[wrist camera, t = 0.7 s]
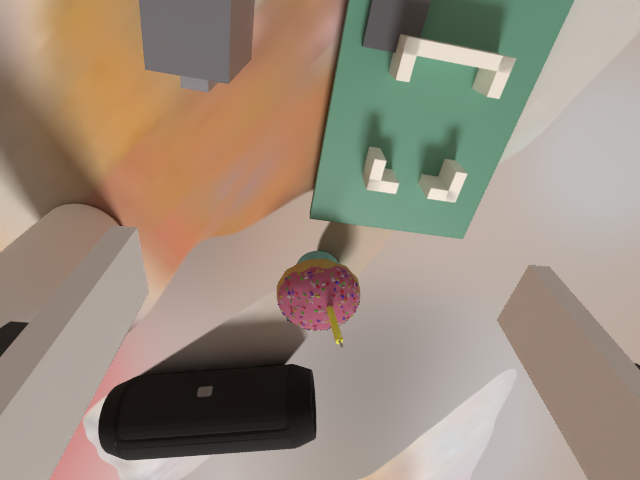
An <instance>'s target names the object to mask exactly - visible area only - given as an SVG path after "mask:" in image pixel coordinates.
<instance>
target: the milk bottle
mask: <svg viewBox="0 0 640 480" xmlns="http://www.w3.org/2000/svg"><path fill="white" fill-rule="evenodd" d="M112 225H115V226H119V224H118V223H117V222H116V221H115V220H114V219H113V218H112V217H111V216H109V215H108V214H107V213H105V212H103V211H101V210H100V209H98V208H95V207H92V206H89V205H85V204H76V203H75V204H66V205H61V206H58V207H56V208H54V209H53V210H52V211H50V212H49V213H48V214H46V215H45V216H44V217H43V218H41V219H40V220H39V221H38V222H36V223H35V224H34V225H33V226H32V227H30V228H29V229H28V230H27V231H26V232H24V233H23V234H22V235H21V236H19V237H18V238H17V239H16V240H15V241H13V242H12V243H11V244H10V245H9V246H7V247H6V248H5V249H4V250H3V251H2V252H0V328H1V327H2V326H4V325H5V324H7V323H8V322H10V321H14V322H28V323H30V321H31V320H32V319H33V318H34V317H35V315H36V314H37V313H38V312H39V311H40V310H41V308H42V307H43V306H44V305H45V304H46V302H47V301H48V300H49V299H50V298H51V297H52V295H53V294H54V293H55V292H56V291H57V289H58V288H59V287H60V286H61V285H62V283H63V282H64V281H65V280H66V279H67V278H68V276H69V275H70V274H71V273H72V272H73V270H74V269H75V268H76V267H77V266H78V265H79V263H80V262H81V261H82V260H83V259H84V257H85V256H86V255H87V254H88V253H89V252H90V250H91V249H92V248H93V247H94V246H95V244H96V243H97V242H98V241H99V240H100V239H101V237H102V236H103V235H104V234H105V233H106V231H107V230H108V229H109V228H110V227H111V226H112Z"/></svg>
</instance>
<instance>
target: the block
mask: <svg viewBox="0 0 640 480" xmlns="http://www.w3.org/2000/svg"><path fill="white" fill-rule="evenodd" d="M254 3H255V0H139V4H140V15H141V27H142V38H143V50H144V62H145V70H151V71H157V72H163V73H168V74H174V75H180V76H181V88H186V89H192V90H198V91H203V92H209V91H210V90H211V89H212V88H213V87H214V86H215V85H216V84H217V83H218V82H220V83H226V84H229V83H230V82H231V81H232V80H233V78H234V77H235V76H236V75H237V74H238V73H239V72H240V71H241V70H242V69H243V68H244V66H245V65H246V64H247V63H248V62H249V61H250V60H251V53H252V36H253V20H254Z"/></svg>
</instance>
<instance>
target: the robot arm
mask: <svg viewBox="0 0 640 480" xmlns="http://www.w3.org/2000/svg"><path fill="white" fill-rule="evenodd" d="M148 293H149V290H148V284H147V279H146V273H145V268H144V262H143V257H142V251H141V245H140V240H139V234H138V229H137V228H136V227H125V226H115V225H112V226H111V227H110V228H109V229H108V230H107V231H106V233H105V234H104V235H103V236H102V237H101V239H100V240H99V241H98V242H97V243H96V244H95V246H94V247H93V248H92V249H91V250H90V252H89V253H88V254H87V255H86V256H85V257H84V259H83V260H82V261H81V262H80V263H79V265H78V266H77V267H76V268H75V269H74V270H73V272H72V273H71V274H70V275H69V276H68V278H67V279H66V280H65V281H64V282H63V283H62V285H61V286H60V287H59V288H58V289H57V291H56V292H55V293H54V294H53V295H52V297H51V298H50V299H49V300H48V301H47V302H46V304H45V305H44V306H43V307H42V308H41V310H40V311H39V312H38V313H37V314H36V315H35V317H34V318H33V319H32V320H31V321H30V323H28V322H14V321H10V322H8V323H7V324H5V325H4V326H2V327H1V328H0V480H49V479H50V477H51V475H52V474H53V472H54V470H55V468H56V466H57V464H58V462H59V460H60V459H61V457H62V455H63V453H64V451H65V449H66V447H67V445H68V443H69V442H70V440H71V438H72V436H73V434H74V432H75V430H76V428H77V426H78V425H79V423H80V421H81V419H82V417H83V415H84V413H85V412H86V410H87V408H88V406H89V404H90V402H91V400H92V398H93V397H94V395H95V393H96V391H97V389H98V387H99V385H100V383H101V381H102V380H103V378H104V376H105V374H106V372H107V370H108V368H109V367H110V365H111V363H112V361H113V359H114V357H115V355H116V353H117V352H118V350H119V348H120V346H121V344H122V342H123V340H124V338H125V336H126V335H127V333H128V331H129V329H130V327H131V325H132V323H133V321H134V320H135V318H136V316H137V314H138V312H139V310H140V308H141V306H142V305H143V303H144V301H145V299H146V297H147V295H148ZM497 321H498V322H499V324H500V326H501V328H502V330H503V331H504V333H505V335H506V336H507V338H508V340H509V342H510V344H511V345H512V347H513V349H514V351H515V352H516V354H517V356H518V358H519V359H520V361H521V363H522V364H523V366H524V368H525V370H526V371H527V373H528V375H529V377H530V379H531V380H532V382H533V384H534V386H535V387H536V389H537V391H538V393H539V394H540V396H541V398H542V400H543V401H544V403H545V405H546V407H547V408H548V410H549V412H550V414H551V415H552V417H553V419H554V420H555V422H556V424H557V426H558V428H559V429H560V431H561V433H562V434H563V436H564V438H565V440H566V442H567V443H568V445H569V447H570V448H571V450H572V452H573V454H574V455H575V457H576V459H577V461H578V462H579V464H580V466H581V468H582V470H583V471H584V473H585V475H586V476H587V478H588V480H640V365H638V364H636V363H633V362H632V361H631V359H630V358H629V357H628V356H627V355H626V354H625V353H624V352H623V350H622V349H621V348H620V347H619V346H618V345H617V343H616V342H615V341H614V340H613V339H612V338H611V337H610V336H609V334H608V333H607V332H606V331H605V330H604V329H603V327H602V326H601V325H600V324H599V323H598V322H597V321H596V319H595V318H594V317H593V316H592V315H591V314H590V313H589V311H588V310H587V309H586V308H585V307H584V306H583V305H582V303H581V302H580V301H579V300H578V299H577V298H576V296H575V295H574V294H573V293H572V292H571V291H570V290H569V288H568V287H567V286H566V285H565V284H564V283H563V282H562V281H561V279H560V278H559V277H558V276H557V275H556V274H555V273H554V271H553V270H552V269H551V268H550V267H546V266H536V265H529V266H528V268H527V269H526V271H525V273H524V274H523V276H522V278H521V280H520V281H519V283H518V285H517V287H516V288H515V290H514V292H513V293H512V295H511V297H510V298H509V300H508V302H507V304H506V305H505V307H504V309H503V311H502V312H501V314H500V315H499V317H498V319H497Z"/></svg>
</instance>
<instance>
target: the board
mask: <svg viewBox="0 0 640 480" xmlns="http://www.w3.org/2000/svg"><path fill="white" fill-rule="evenodd" d="M573 2H574V0H348V2H347V8H346V14H345V19H344V25H343V30H342V36H341V42H340V47H339V53H338V58H337V64H336V69H335V75H334V81H333V86H332V92H331V97H330V103H329V108H328V114H327V120H326V125H325V131H324V136H323V142H322V148H321V153H320V159H319V164H318V170H317V175H316V181H315V187H314V193H313V198H312V203H311V209H310V219H316V220H324V221H331V222H339V223H346V224H354V225H361V226H369V227H376V228H384V229H391V230H399V231H407V232H414V233H421V234H429V235H436V236H444V237H451V238H459V239H463V237H464V235H465V233H466V231H467V229H468V227H469V225H470V222H471V220H472V218H473V216H474V214H475V212H476V210H477V207H478V205H479V203H480V201H481V199H482V197H483V195H484V192H485V190H486V188H487V186H488V183H489V182H490V179H491V177H492V175H493V173H494V171H495V169H496V167H497V165H498V162H499V160H500V158H501V156H502V154H503V152H504V150H505V147H506V145H507V143H508V141H509V139H510V137H511V135H512V132H513V130H514V128H515V126H516V124H517V122H518V120H519V117H520V115H521V113H522V111H523V109H524V107H525V105H526V102H527V100H528V98H529V96H530V94H531V92H532V90H533V87H534V85H535V83H536V81H537V79H538V77H539V75H540V72H541V70H542V68H543V66H544V64H545V62H546V60H547V57H548V55H549V53H550V51H551V49H552V47H553V45H554V42H555V40H556V38H557V36H558V34H559V32H560V30H561V27H562V25H563V23H564V21H565V19H566V17H567V15H568V12H569V10H570V8H571V6H572V4H573Z"/></svg>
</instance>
